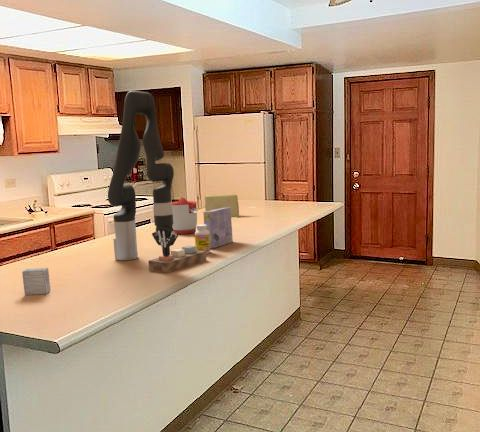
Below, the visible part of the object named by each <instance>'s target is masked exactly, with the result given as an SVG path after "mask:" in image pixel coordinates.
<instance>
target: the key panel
mask: <svg viewBox="0 0 480 432" xmlns="http://www.w3.org/2000/svg"><path fill="white" fill-rule="evenodd" d="M170 255H171V253H170ZM147 261H148V271H151V272H158V273H163V274H164V273H165V274H169V273H171V272H175V271H178V270H181V269H184V268H187V267H190V266H193V265H196V264H199V263H202V262H205V261H207V254H206V251H199V250H196V252H195V253H192V254H185V256H182V257H179V258H177V257H173V259H172V260H169V261H161V260H159V257H156V258H152V259H149V260H147Z"/></svg>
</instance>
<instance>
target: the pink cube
mask: <svg viewBox="0 0 480 432" xmlns="http://www.w3.org/2000/svg"><path fill="white" fill-rule="evenodd" d="M158 258H159V260H161V261H169V260H172V259H173V255H169V256H167V257H166V256H163V254H162V255H159V256H158Z"/></svg>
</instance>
